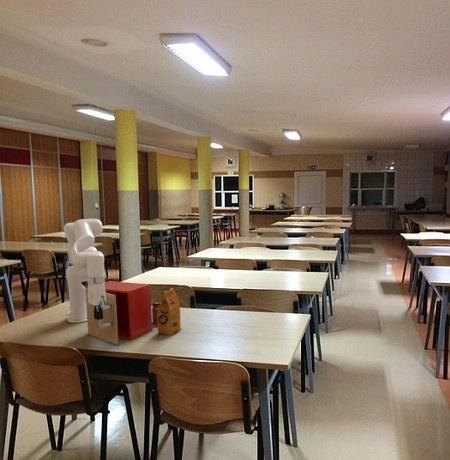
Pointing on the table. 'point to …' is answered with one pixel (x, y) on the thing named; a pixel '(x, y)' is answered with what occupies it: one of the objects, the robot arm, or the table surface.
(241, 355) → the table surface
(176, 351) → the table surface
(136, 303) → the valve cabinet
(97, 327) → the door
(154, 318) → the condiment
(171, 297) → the coffee package
